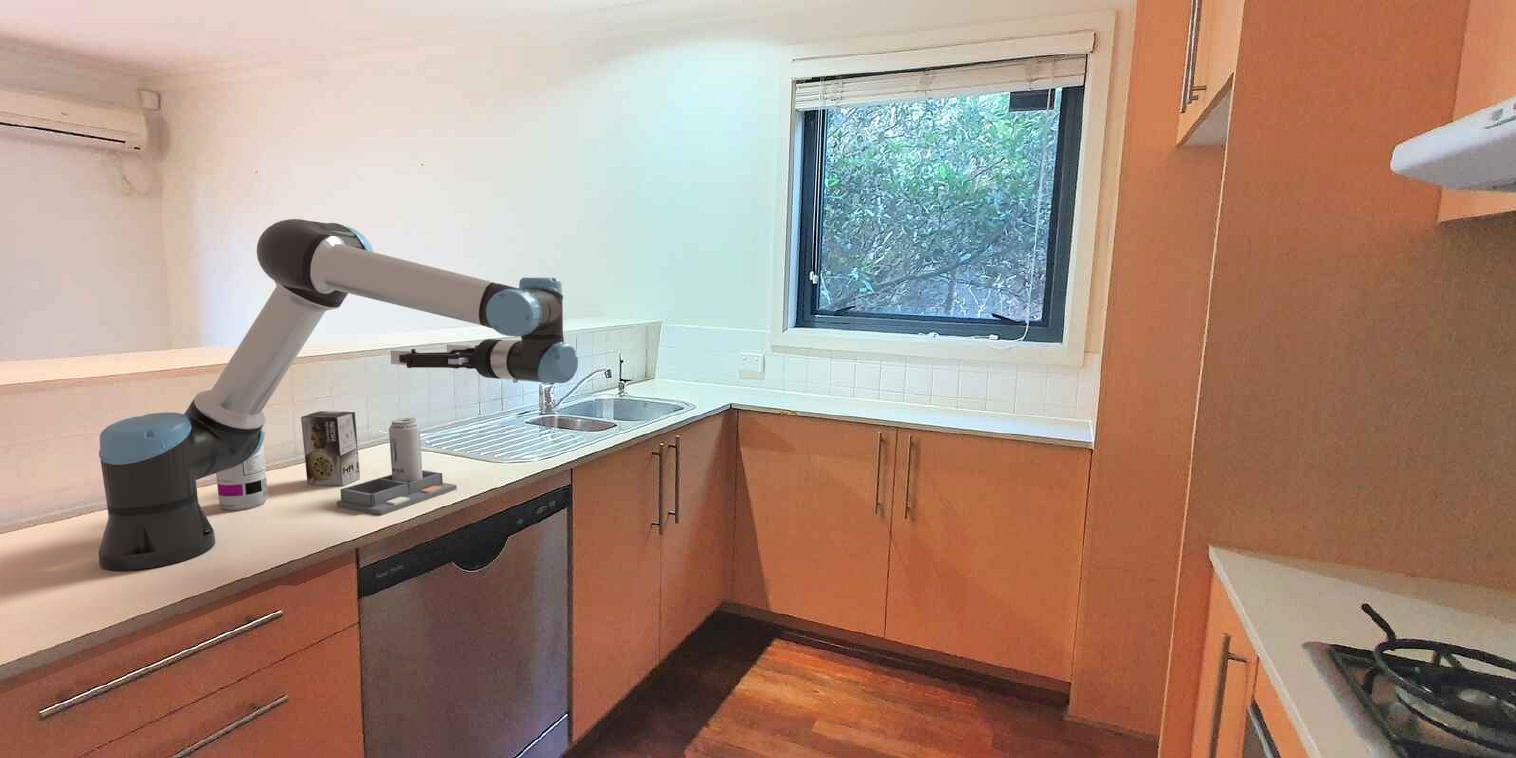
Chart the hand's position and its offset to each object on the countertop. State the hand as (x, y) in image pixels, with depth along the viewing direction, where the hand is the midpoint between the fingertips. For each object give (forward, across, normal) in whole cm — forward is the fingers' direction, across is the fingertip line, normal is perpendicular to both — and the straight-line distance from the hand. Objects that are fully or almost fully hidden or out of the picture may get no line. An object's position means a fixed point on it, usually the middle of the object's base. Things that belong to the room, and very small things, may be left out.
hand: (421, 353), depth 142 cm
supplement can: (+35, -16, -32) cm, 50 cm away
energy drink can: (+13, +5, -31) cm, 34 cm away
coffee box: (+34, +3, -32) cm, 47 cm away
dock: (+10, +1, -32) cm, 34 cm away
